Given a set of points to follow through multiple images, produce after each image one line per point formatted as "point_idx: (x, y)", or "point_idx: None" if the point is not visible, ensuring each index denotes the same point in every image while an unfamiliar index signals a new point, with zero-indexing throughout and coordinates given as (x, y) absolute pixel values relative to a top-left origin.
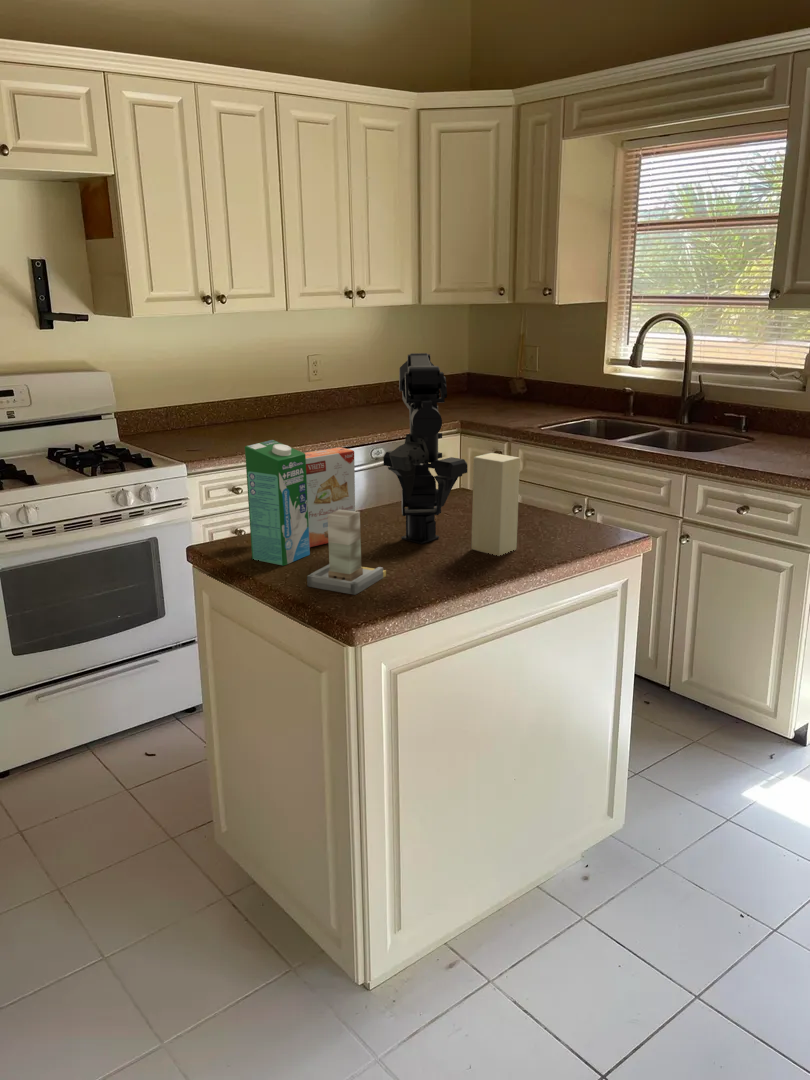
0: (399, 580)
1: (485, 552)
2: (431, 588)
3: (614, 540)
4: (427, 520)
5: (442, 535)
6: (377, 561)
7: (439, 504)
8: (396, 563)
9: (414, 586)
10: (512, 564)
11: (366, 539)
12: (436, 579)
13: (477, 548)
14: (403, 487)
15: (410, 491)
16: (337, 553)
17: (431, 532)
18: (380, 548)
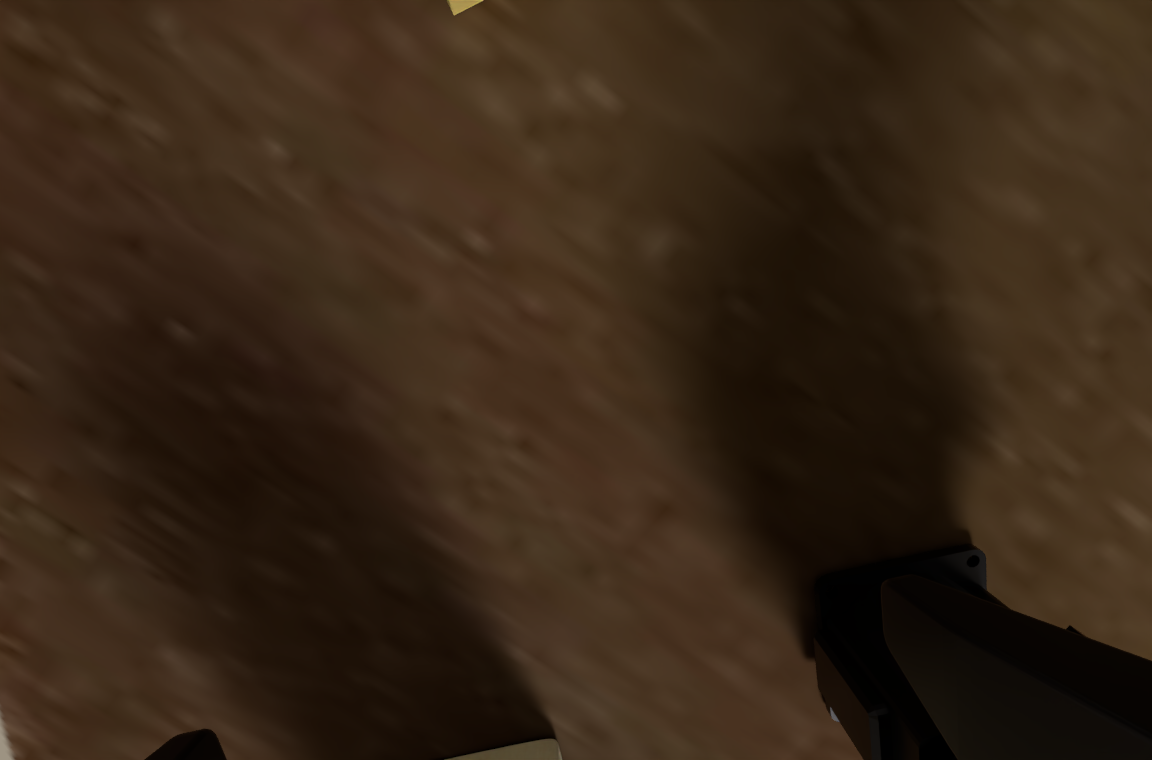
0: (322, 36)
1: (455, 758)
2: (55, 112)
3: None
4: (899, 732)
5: None
6: (745, 167)
7: (165, 754)
8: (630, 245)
9: (153, 41)
10: None
11: (1130, 381)
12: (204, 256)
13: (511, 755)
14: (1122, 684)
15: (973, 741)
16: None
17: (834, 685)
18: (935, 345)
